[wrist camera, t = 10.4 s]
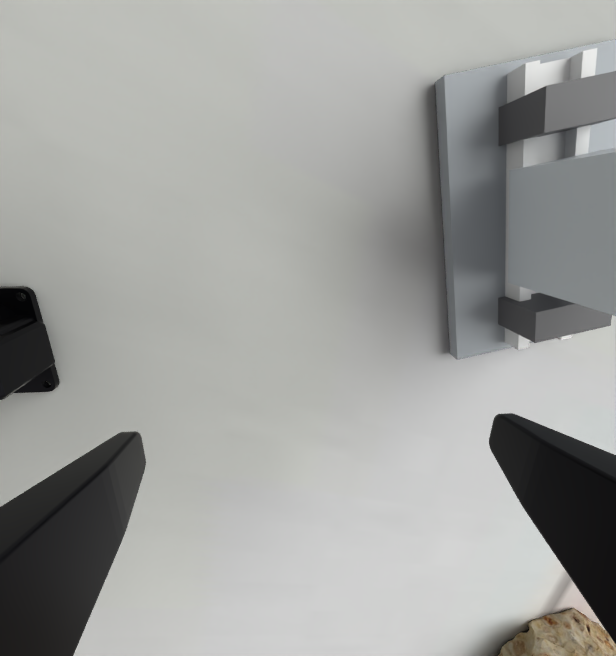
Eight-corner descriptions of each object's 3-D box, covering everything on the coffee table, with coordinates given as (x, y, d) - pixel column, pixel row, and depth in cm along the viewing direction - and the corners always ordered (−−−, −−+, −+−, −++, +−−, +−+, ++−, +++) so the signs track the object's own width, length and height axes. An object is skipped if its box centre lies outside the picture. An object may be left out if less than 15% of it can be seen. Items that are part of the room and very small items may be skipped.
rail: (588, 322, 23) (652, 345, 19) (449, 353, 23) (486, 383, 19) (616, 44, 18) (716, -5, 14) (435, 82, 17) (482, 44, 13)
